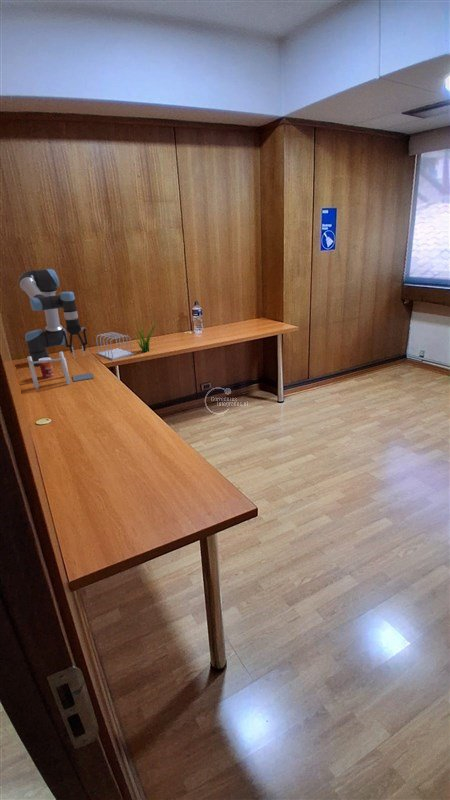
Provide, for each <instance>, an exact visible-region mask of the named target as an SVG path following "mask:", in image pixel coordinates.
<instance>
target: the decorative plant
mask: <svg viewBox="0 0 450 800" xmlns="http://www.w3.org/2000/svg"><path fill="white" fill-rule="evenodd" d="M156 311H157V310H156V309H155V312H156ZM154 315H155V313H153V315H152V316H154ZM152 320H153V326H152V328H151V330H150V331H149V333H148V335H147V337H145V334H144V329H143V326H141V331H140V329H139V326H140V323H137V331H138V336H139V337H138V336H137V335H136V334H135V333H134V335H133V336H134V337H137V338H135V339H136V343H137V344H138V346H139V348H140V349H141V351H142V353H149V352H150V341H151V337H152V335H153V334H154V331H155V326H156V320H155V318H154V317H152ZM137 321H138V322H140V321H139V319H137Z"/></svg>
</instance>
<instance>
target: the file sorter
mask: <svg viewBox="0 0 450 800" xmlns="http://www.w3.org/2000/svg"><path fill="white" fill-rule="evenodd" d="M98 337H99V342H98ZM101 338H102V339H101ZM106 338H107V339H106ZM121 338H122V342H123V349H122V343H121ZM124 338H125V340H124ZM128 338H129V342H128ZM105 339H106V340H105ZM109 339H110V340H109ZM117 339H118V340H119V347H120V348H119V347H118V340H117ZM95 340H96V345H97V346H96V347H97V350H98V351H97V355H99V356H101V357H103V358H106V359H108V360H111V361H117V360H120V359H123V358H128V357H132V356H135V354H134V352H133V348H132V340H131V337H130V336H129V335H125V334H121V333H118V332H114V331H113V332H112V331H111V332H106V333H101V334H97V335H96V337H95ZM113 340H115V342H116V343H115V344H116V348H113V349H112V341H113ZM105 341H106V345H105ZM108 341H109V345H110V349H109V345H108ZM125 341H126V348H125ZM102 342H103V344H102ZM98 343H100V347H99V344H98ZM128 343H129V344H128ZM102 345H103V347H104V350H103V347H102ZM129 345H130V351H129ZM106 347H107V350H106ZM126 349H127V350H126ZM100 351H101V352H100Z"/></svg>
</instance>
